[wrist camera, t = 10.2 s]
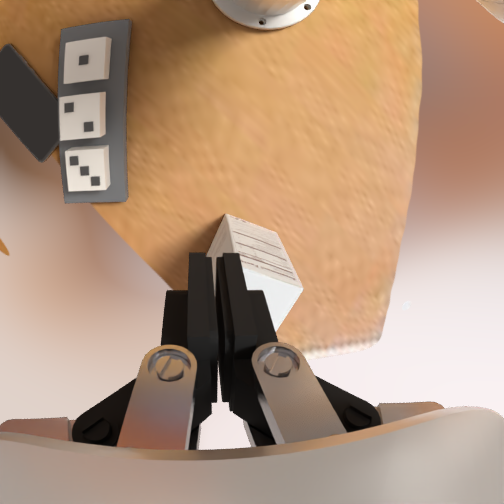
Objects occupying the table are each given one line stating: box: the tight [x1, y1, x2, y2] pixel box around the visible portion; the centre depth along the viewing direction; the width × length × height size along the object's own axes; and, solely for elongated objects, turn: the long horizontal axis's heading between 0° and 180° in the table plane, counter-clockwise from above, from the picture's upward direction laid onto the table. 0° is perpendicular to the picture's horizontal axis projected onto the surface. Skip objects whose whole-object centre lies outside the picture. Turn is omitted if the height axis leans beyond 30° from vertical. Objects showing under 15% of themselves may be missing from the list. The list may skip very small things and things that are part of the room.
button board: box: [58, 19, 132, 203], centre depth 29 cm, size 21×8×2 cm, turn 175°
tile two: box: [59, 92, 106, 141], centre depth 27 cm, size 5×5×2 cm
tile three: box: [65, 145, 110, 191], centre depth 31 cm, size 5×5×2 cm
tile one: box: [64, 37, 112, 84], centre depth 25 cm, size 5×5×2 cm
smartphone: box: [0, 43, 59, 163], centre depth 27 cm, size 7×1×16 cm
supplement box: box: [206, 214, 304, 332], centre depth 36 cm, size 7×7×13 cm
